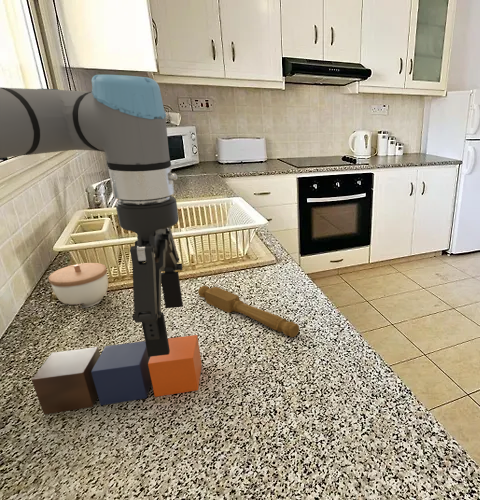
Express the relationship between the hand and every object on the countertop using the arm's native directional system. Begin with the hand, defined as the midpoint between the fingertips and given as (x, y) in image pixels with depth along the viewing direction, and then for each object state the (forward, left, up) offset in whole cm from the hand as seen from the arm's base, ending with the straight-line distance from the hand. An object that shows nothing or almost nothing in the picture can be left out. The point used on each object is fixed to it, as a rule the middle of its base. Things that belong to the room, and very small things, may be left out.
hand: (167, 328), depth 60 cm
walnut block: (-15, 0, -10) cm, 18 cm away
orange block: (0, 0, -10) cm, 10 cm away
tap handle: (+11, +19, -11) cm, 24 cm away
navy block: (-7, 0, -10) cm, 13 cm away
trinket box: (-24, +33, -11) cm, 42 cm away
